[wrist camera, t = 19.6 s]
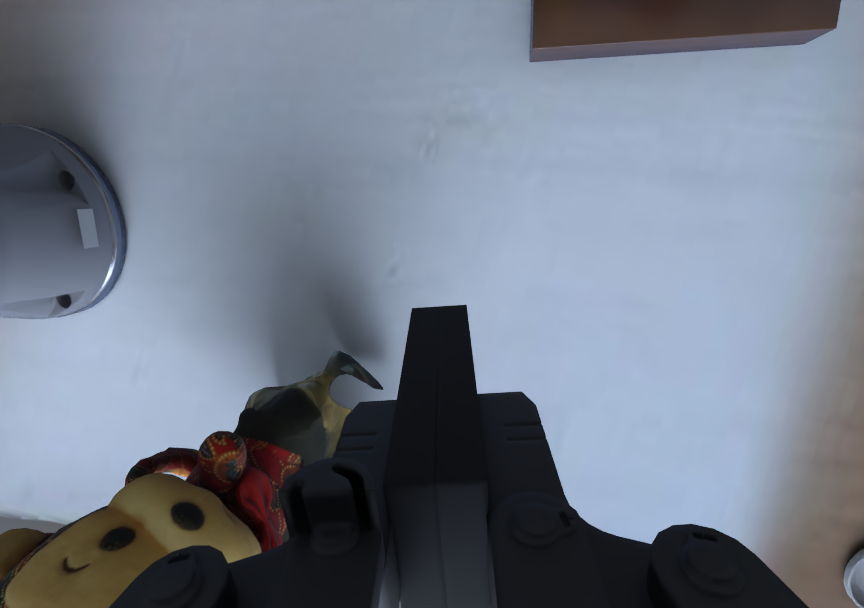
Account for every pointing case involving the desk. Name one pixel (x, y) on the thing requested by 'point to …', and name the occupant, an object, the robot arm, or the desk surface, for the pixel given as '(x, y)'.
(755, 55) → the desk surface
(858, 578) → the pocket watch
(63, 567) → the stuffed monkey
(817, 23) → the book rack
